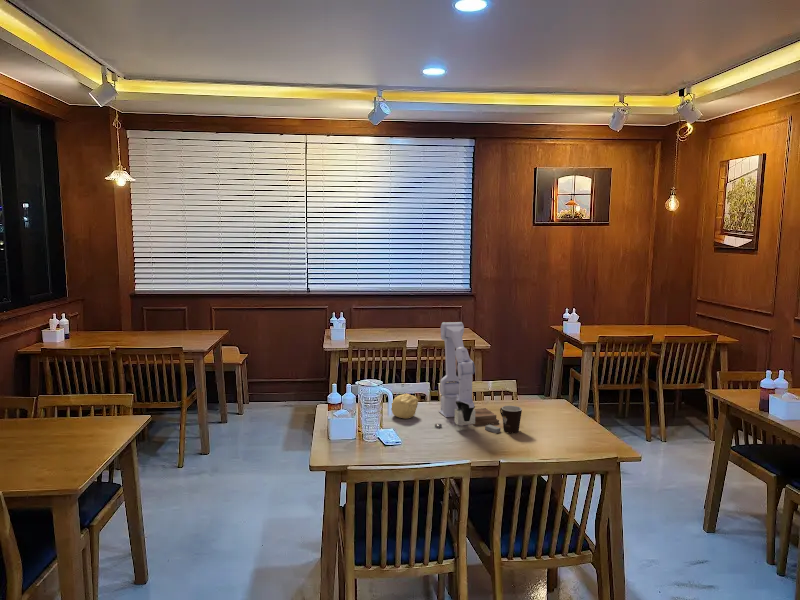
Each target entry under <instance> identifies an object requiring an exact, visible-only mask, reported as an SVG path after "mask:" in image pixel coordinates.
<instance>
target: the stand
mask: <svg viewBox="0 0 800 600" xmlns="http://www.w3.org/2000/svg"><path fill="white" fill-rule="evenodd" d="M474 410H475V424H472V425H473V426H474V427H476V426H477V427H478V426H487V425H496V424H498V425H499V424H500V420H499V419H498V418H497V414H495V413H494V412H492V411H491V410H489V409H488V408H486V407H485V408H484V407H483V408H481V407H480V408H474Z"/></svg>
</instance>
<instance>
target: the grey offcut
mask: <svg viewBox="0 0 800 600" xmlns="http://www.w3.org/2000/svg"><path fill="white" fill-rule="evenodd" d="M484 430H486V431H488V432H491V433H494V434H499V433H501V430H502V429H501V427H499V426H496V425H494V424H488V425H484Z"/></svg>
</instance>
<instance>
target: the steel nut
mask: <svg viewBox="0 0 800 600" xmlns="http://www.w3.org/2000/svg"><path fill="white" fill-rule="evenodd" d="M442 425H443V424H441V423H435V424H434V428H435V429H442Z"/></svg>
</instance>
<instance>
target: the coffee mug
mask: <svg viewBox="0 0 800 600" xmlns="http://www.w3.org/2000/svg"><path fill="white" fill-rule="evenodd" d="M522 410H523V409H522V407H520V406H516V405H504V406H502V407H500V409H499V413H500V415H501V417H502V426H503V427H502V429H503V432H504V433H507V434H518V433H519V429H520V426H521V418H522V412H523V411H522Z"/></svg>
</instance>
